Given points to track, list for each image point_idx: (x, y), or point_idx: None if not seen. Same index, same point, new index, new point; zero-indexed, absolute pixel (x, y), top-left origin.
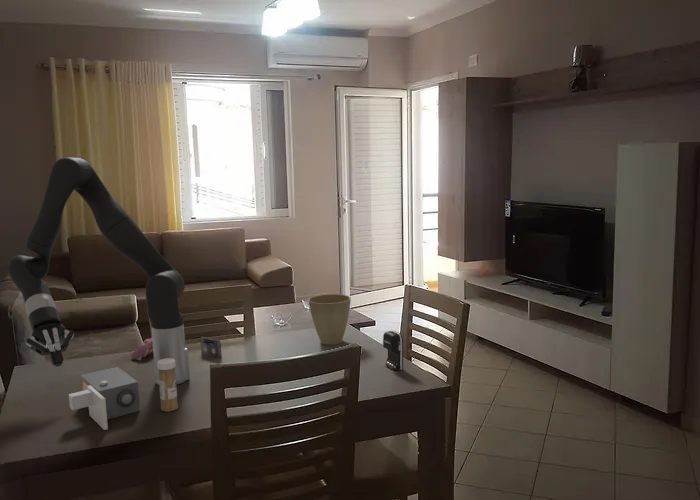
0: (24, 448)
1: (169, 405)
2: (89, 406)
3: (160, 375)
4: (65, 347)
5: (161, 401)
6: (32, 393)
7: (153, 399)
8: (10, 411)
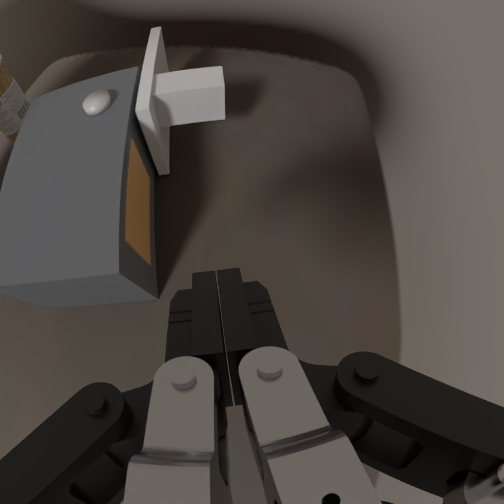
0: (332, 94)
1: None
2: (163, 148)
3: (6, 71)
4: (102, 393)
5: None
6: None
7: None
8: (389, 356)
